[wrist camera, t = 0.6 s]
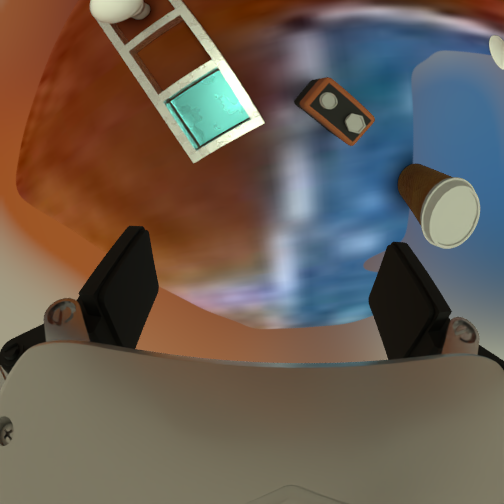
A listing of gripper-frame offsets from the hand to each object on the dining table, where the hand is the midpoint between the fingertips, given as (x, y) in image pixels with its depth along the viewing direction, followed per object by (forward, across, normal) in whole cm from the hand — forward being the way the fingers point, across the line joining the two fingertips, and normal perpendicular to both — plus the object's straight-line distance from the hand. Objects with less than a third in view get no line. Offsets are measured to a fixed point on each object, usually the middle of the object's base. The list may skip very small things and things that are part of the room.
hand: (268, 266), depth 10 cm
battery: (+28, -7, -5) cm, 30 cm away
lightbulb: (+28, +17, -19) cm, 38 cm away
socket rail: (+28, +12, -12) cm, 33 cm away
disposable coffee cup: (+28, -23, +4) cm, 37 cm away
